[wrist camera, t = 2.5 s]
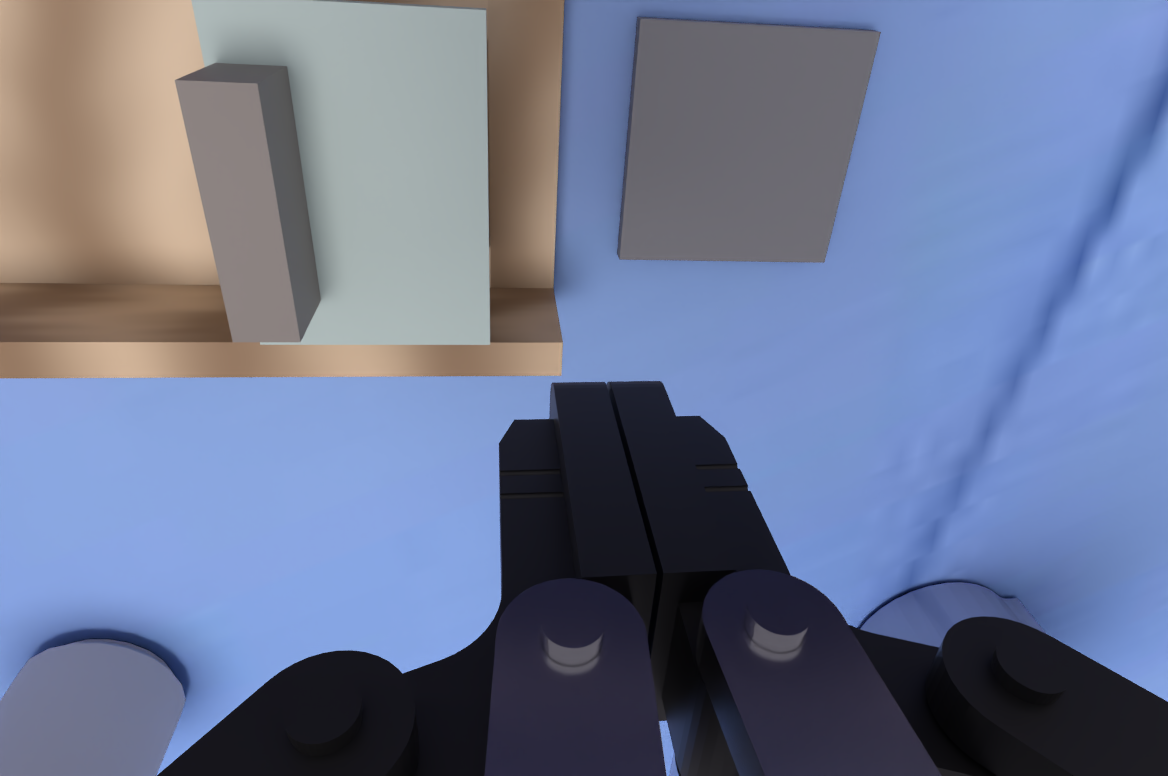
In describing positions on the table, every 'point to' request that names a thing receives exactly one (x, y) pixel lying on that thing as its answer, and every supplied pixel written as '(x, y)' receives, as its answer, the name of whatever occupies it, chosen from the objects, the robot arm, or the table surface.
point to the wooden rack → (176, 217)
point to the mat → (739, 139)
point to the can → (89, 712)
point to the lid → (344, 169)
